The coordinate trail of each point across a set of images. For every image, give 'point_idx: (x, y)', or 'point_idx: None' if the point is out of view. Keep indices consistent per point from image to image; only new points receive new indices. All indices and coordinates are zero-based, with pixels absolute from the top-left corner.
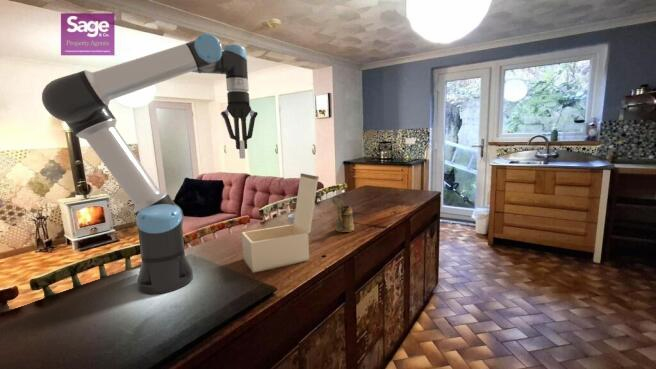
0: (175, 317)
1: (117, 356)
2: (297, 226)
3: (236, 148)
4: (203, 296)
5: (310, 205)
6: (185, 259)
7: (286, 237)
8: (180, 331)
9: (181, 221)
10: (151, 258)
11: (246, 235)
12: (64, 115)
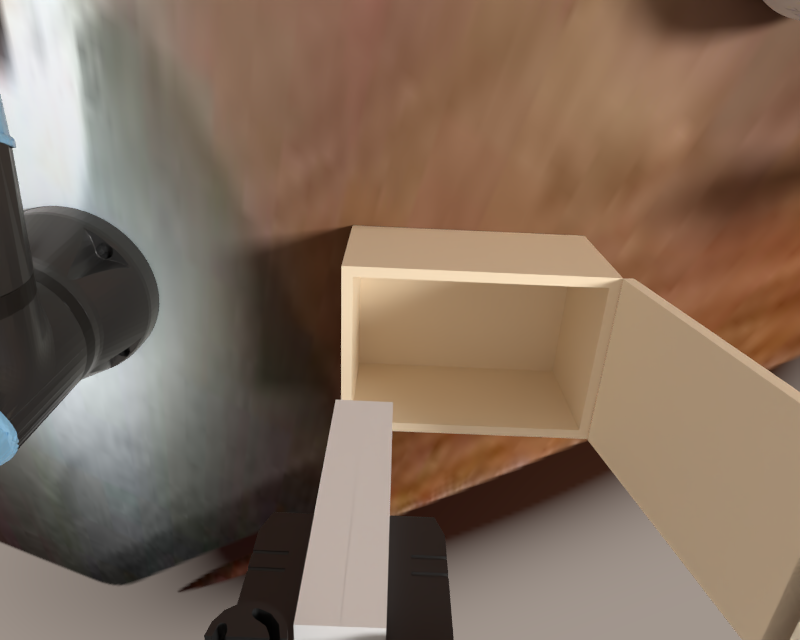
0: (134, 487)
1: (52, 550)
2: (772, 2)
3: (265, 534)
4: (194, 431)
5: (658, 511)
6: (109, 343)
7: (488, 432)
8: (151, 536)
9: (19, 411)
10: None
11: (349, 326)
12: None
